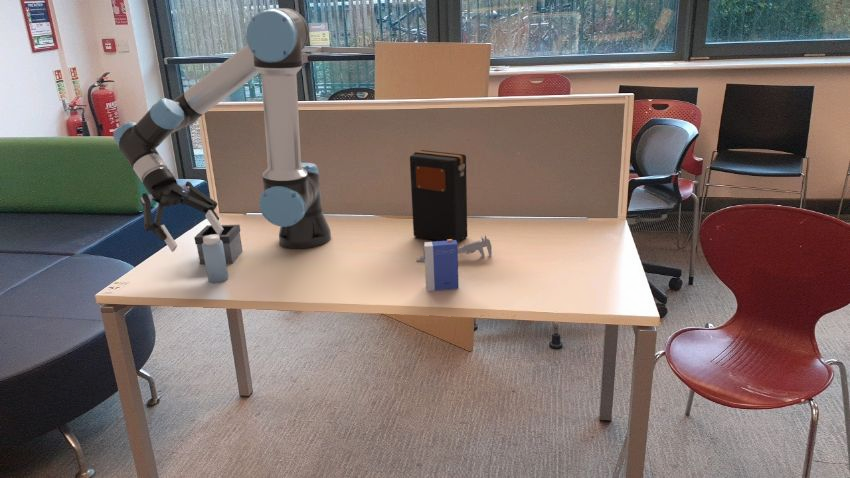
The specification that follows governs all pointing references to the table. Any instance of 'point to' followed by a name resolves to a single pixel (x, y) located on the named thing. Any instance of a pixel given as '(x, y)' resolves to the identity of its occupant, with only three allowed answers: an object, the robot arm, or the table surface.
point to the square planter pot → (228, 237)
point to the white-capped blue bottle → (214, 259)
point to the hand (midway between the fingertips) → (198, 240)
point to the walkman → (441, 265)
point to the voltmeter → (439, 195)
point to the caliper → (471, 248)
